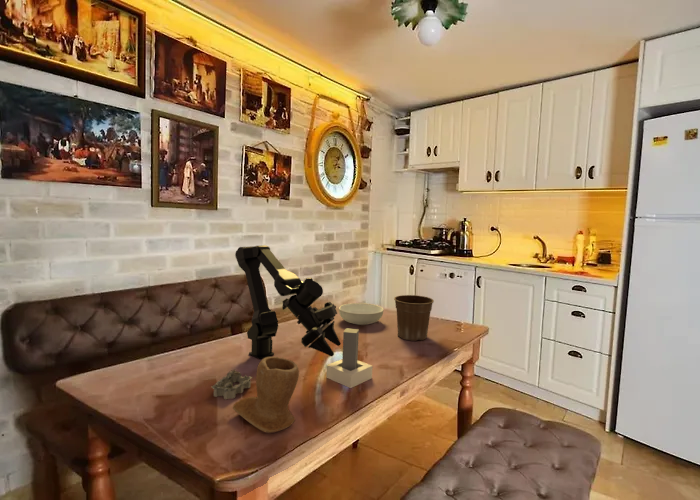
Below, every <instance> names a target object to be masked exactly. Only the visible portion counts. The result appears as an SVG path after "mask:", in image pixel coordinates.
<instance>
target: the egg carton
mask: <svg viewBox="0 0 700 500" xmlns="http://www.w3.org/2000/svg"><path fill="white" fill-rule="evenodd" d="M251 379H253V376H250V375H249V376H248V375H246V374H245V375H244V376H242V373H241V372H240V371H238V370H236V369H232V370H230V371H229V372H227V374H226V375H225V376H223V377H222V379H220V380H218V381H217V382H215V384H213V385H211V386H210V387H211V389H213V397H215V398H217V397H220V396H221V397H223V399H224V400H229V399H235V398H236V397H237V396H236V394H242V393H243V392H244V389H250V388H251V386H252V385H251V382H252V381H251ZM237 382H238V384H237ZM233 383H236V384H233Z"/></svg>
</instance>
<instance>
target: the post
mask: <svg viewBox="0 0 700 500" xmlns="http://www.w3.org/2000/svg"><path fill="white" fill-rule="evenodd" d="M359 332H360V329H359V328H348V327H347V328H345V329H344V330H343V334H342V335H343V336H342V338H343V339H342V356H341V357H342V368H344V369H347V370H349V371H352V370H354V369H357V361H359V360H358V358H359V357H358V355H359V336H360V333H359Z"/></svg>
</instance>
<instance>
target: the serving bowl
mask: <svg viewBox="0 0 700 500" xmlns="http://www.w3.org/2000/svg"><path fill="white" fill-rule="evenodd" d="M338 312H339V315H340V317H341V319H343V320H344V321H345V322H347V323H349V324H353V325H358V326H365V325H370V324H375V323H377V322H378V321H380V319H381V318H382V317H383V314H384V307H382V306H380V305H377V304H373V303H365V302H354V303H353V302H352V303H345V304H342V305H340V306H339V307H338Z"/></svg>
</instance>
